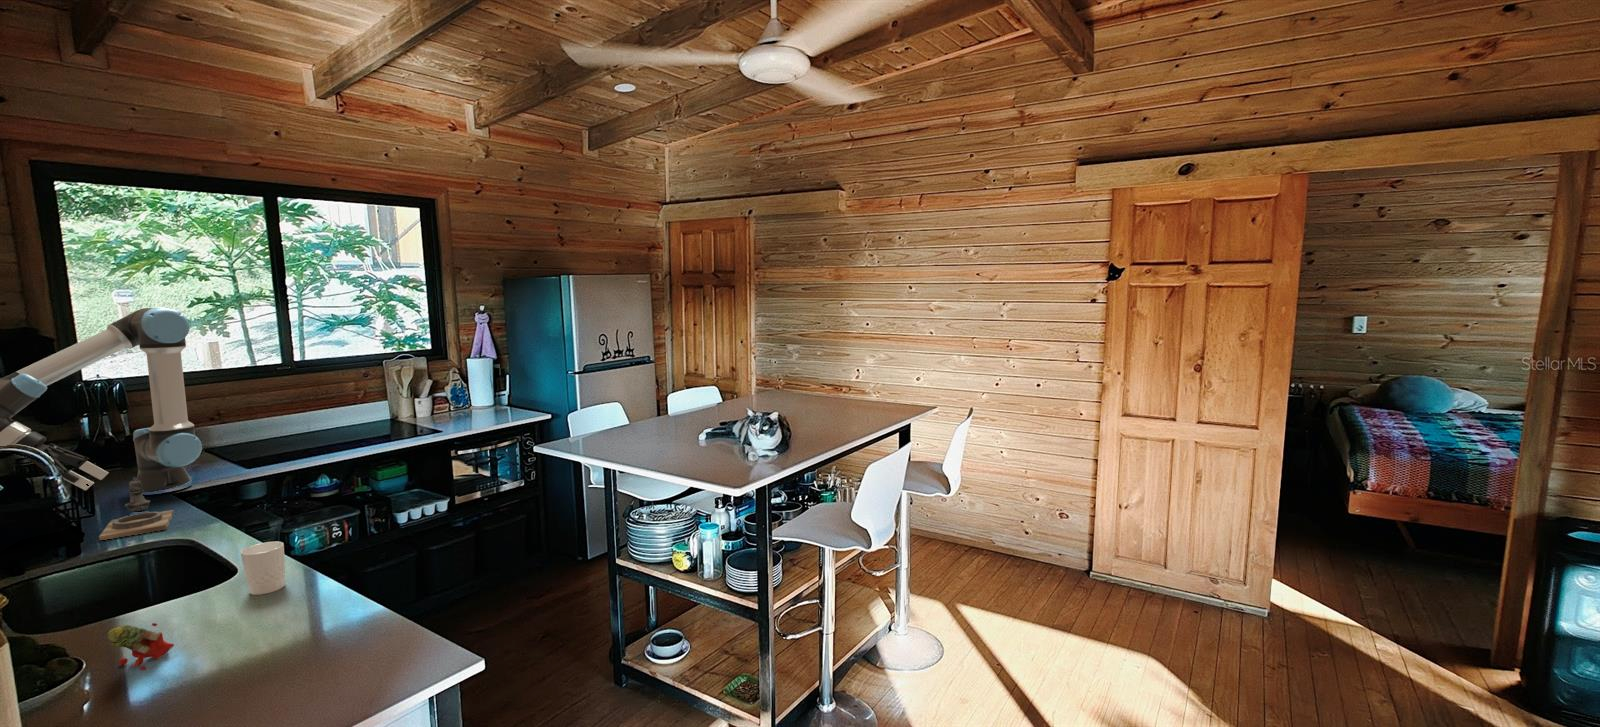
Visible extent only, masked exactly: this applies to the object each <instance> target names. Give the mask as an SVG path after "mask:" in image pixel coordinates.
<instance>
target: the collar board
mask: <svg viewBox="0 0 1600 727" xmlns="http://www.w3.org/2000/svg"><path fill="white" fill-rule="evenodd" d="M173 514H174V515H175V512H174V509H171V510H170V509H169V510H164V511H151V512H145V513H138V514H133V515H129V514H128V515H129V516H128V515H125V516H122V517H119V518H116V519H111V520H110V521H109V522H108V524H107V525H106V527H105V528H104V529H103V531H102V532H101V533H100V534H99V536H98V538H99V541H100V540H106V541H108V540H107V539H112V540H114V539H113V538H118V537H123V538H125V537H124V536H129V537H132V536H131V535H135V536H139V535H138V534H141V535H144V534H143V533H146V534H151V533H150V532H152V533H155V532H154V531H158V532H161V531H160V530H164V531H167V530H168V528H167V527H169V526H170V524H169V523H171V522H170V520H171V519H172V520H173V518H172V516H173V517H174V515H173ZM172 520H171V521H172ZM168 525H169V526H168ZM166 529H167V530H166ZM118 539H119V538H118Z"/></svg>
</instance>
